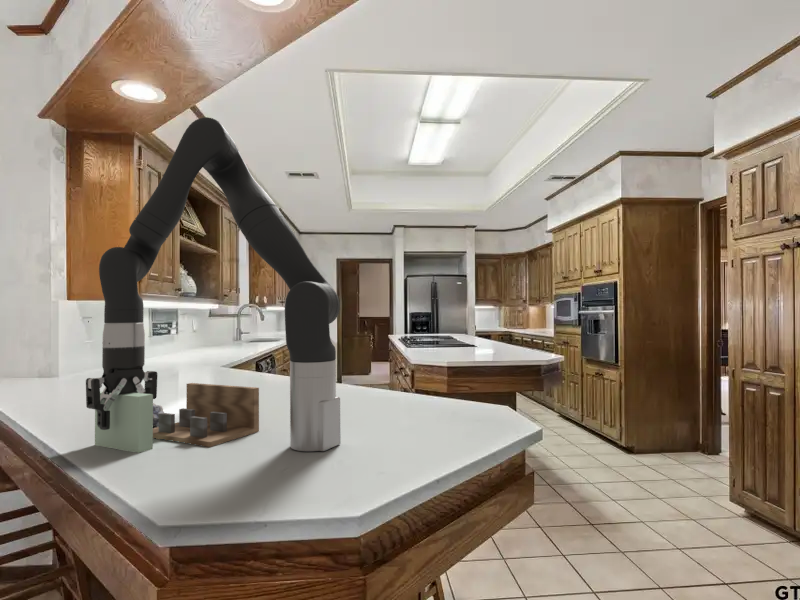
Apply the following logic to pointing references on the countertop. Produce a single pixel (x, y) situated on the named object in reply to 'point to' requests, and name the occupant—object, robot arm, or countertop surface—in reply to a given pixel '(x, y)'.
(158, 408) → the mineral specimen
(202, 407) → the hinge base
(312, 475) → the countertop surface
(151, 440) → the cabinet door
